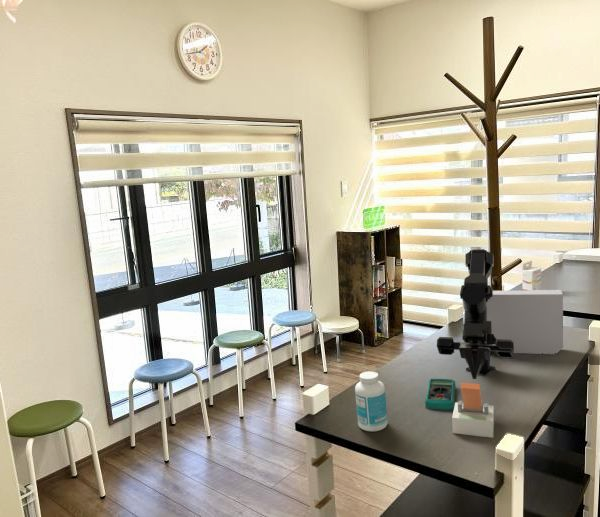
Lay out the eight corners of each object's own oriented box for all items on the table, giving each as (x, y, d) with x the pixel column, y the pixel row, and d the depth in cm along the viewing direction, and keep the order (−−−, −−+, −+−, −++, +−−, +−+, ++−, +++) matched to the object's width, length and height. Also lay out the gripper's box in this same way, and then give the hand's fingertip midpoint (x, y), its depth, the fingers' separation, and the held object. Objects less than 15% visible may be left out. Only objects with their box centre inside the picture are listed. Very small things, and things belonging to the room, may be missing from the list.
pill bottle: (389, 419, 129) (386, 369, 127) (385, 434, 122) (381, 381, 120) (361, 417, 131) (357, 368, 129) (355, 431, 125) (351, 380, 122)
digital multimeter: (425, 410, 133) (424, 400, 132) (429, 386, 147) (428, 376, 146) (454, 412, 130) (453, 401, 130) (455, 387, 144) (455, 378, 144)
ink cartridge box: (533, 296, 225) (532, 264, 222) (522, 295, 229) (521, 263, 226) (541, 292, 230) (541, 261, 228) (531, 291, 234) (530, 260, 232)
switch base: (455, 417, 127) (455, 394, 126) (494, 420, 124) (493, 398, 122) (452, 433, 120) (451, 409, 119) (493, 437, 116) (492, 413, 115)
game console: (472, 345, 174) (470, 290, 170) (560, 348, 164) (560, 289, 161) (472, 352, 168) (470, 294, 165) (563, 355, 159) (562, 294, 156)
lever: (463, 405, 123) (460, 382, 116) (483, 407, 121) (480, 383, 114) (463, 411, 122) (460, 388, 115) (482, 413, 120) (480, 389, 113)
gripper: (435, 307, 132) (432, 363, 124) (512, 309, 125) (514, 368, 117) (440, 326, 141) (437, 380, 133) (513, 329, 134) (514, 385, 126)
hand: (474, 378), depth 127 cm, fingers closed
